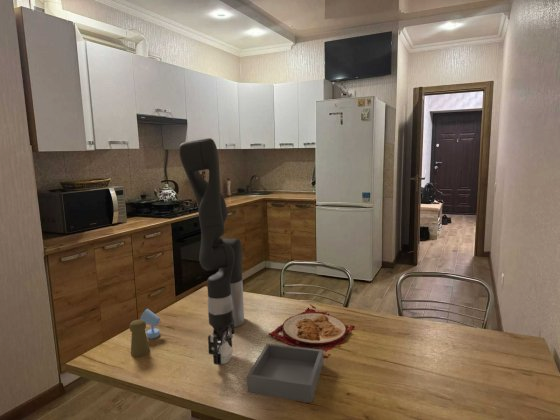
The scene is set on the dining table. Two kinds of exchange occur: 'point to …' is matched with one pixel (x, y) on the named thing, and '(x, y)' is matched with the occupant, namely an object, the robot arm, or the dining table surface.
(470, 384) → the dining table surface
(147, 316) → the spotlight
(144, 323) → the olive pepper mill
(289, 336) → the plate with food
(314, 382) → the serving bin
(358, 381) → the dining table surface
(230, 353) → the white ribbed rounded piece
